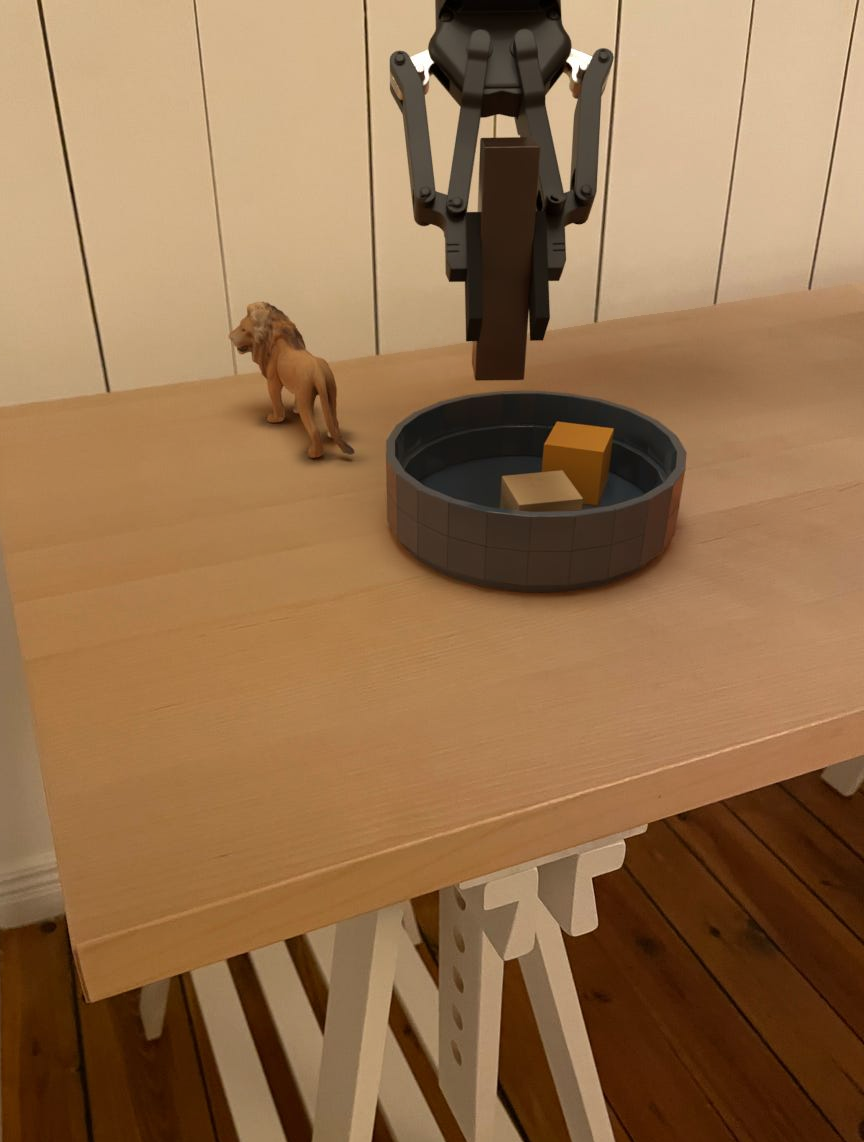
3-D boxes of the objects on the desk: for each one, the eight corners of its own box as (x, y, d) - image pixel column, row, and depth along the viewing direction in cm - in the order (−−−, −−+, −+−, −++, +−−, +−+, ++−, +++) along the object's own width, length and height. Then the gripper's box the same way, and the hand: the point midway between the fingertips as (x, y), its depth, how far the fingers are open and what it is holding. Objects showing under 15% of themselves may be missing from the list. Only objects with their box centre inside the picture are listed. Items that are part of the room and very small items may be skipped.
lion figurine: (230, 410, 85) (218, 303, 80) (283, 395, 88) (275, 290, 83) (326, 469, 76) (319, 352, 70) (383, 451, 78) (381, 336, 73)
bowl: (640, 458, 76) (650, 388, 73) (705, 594, 61) (722, 513, 58) (387, 461, 77) (386, 392, 73) (387, 599, 61) (385, 518, 58)
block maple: (557, 525, 66) (562, 469, 64) (577, 555, 63) (583, 498, 61) (498, 531, 66) (501, 475, 64) (515, 562, 63) (519, 504, 60)
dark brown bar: (518, 363, 64) (533, 136, 56) (524, 380, 61) (540, 146, 54) (471, 363, 64) (480, 137, 56) (474, 381, 61) (484, 147, 54)
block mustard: (607, 481, 72) (614, 428, 69) (597, 506, 68) (603, 451, 66) (552, 473, 73) (556, 421, 70) (539, 497, 70) (543, 443, 67)
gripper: (615, 15, 65) (633, 357, 61) (365, 18, 65) (367, 360, 61) (644, -88, 57) (666, 294, 53) (361, -83, 58) (363, 298, 54)
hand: (507, 329), depth 57 cm, fingers closed on dark brown bar, 3 cm apart
